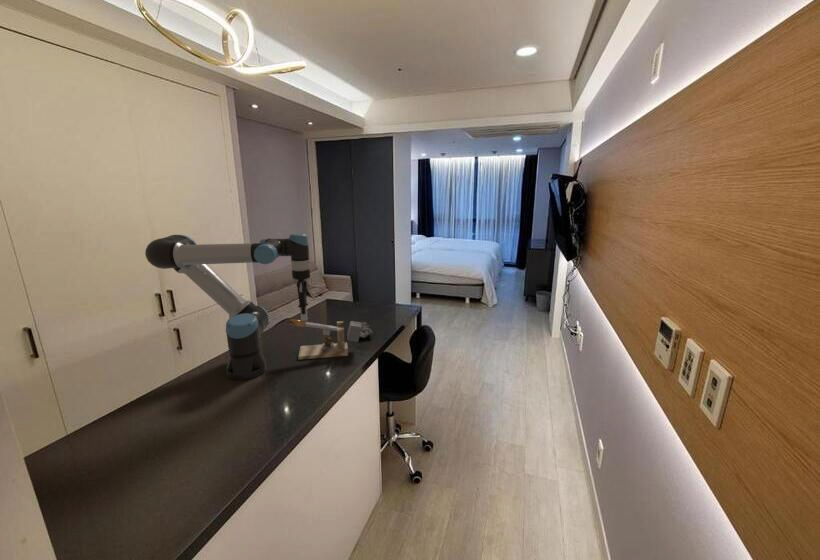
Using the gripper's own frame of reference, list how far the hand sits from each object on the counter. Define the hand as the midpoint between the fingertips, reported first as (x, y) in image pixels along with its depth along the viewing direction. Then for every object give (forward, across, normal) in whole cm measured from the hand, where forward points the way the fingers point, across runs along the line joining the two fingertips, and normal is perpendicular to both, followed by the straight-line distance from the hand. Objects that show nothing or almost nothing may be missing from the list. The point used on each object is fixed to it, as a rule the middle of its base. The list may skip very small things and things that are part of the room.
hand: (304, 319), depth 155 cm
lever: (+8, 0, -8) cm, 11 cm away
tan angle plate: (+17, 0, -8) cm, 19 cm away
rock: (+17, +16, -27) cm, 36 cm away
